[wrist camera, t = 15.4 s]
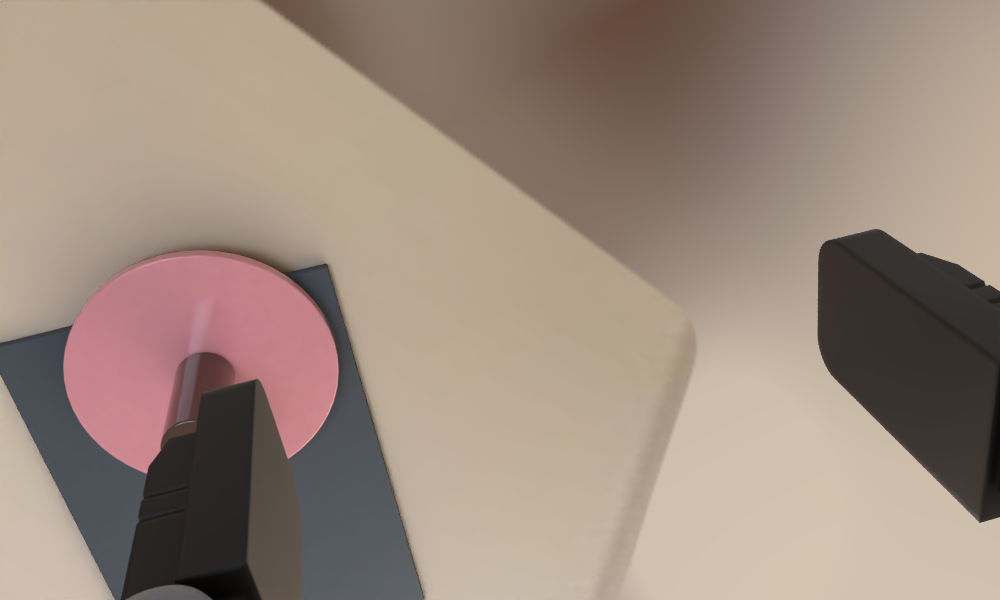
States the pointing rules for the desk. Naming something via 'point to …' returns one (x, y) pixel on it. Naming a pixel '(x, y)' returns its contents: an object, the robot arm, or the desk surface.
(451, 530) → the desk surface
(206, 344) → the pink lid with knob
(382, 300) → the desk surface
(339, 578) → the mat
